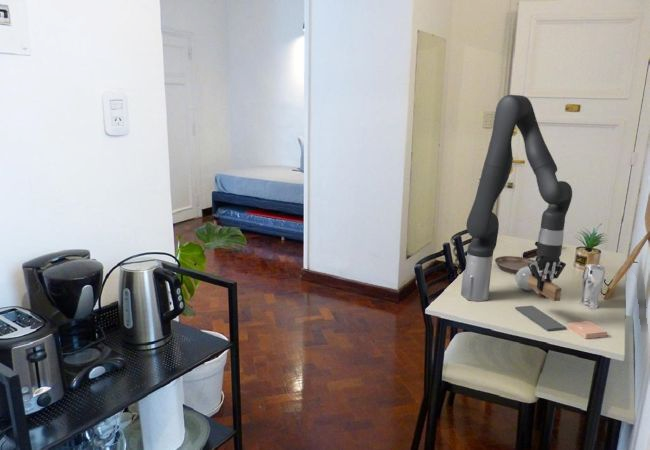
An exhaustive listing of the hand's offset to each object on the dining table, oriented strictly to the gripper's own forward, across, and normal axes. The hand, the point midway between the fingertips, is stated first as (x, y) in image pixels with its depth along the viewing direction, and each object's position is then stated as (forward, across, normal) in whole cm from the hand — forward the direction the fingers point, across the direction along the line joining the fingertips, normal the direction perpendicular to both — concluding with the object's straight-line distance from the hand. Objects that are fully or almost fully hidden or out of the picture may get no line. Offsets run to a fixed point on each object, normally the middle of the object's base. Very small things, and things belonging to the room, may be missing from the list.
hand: (543, 289), depth 170 cm
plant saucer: (+11, +24, +48) cm, 55 cm away
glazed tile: (+10, +9, -8) cm, 16 cm away
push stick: (+1, 0, 0) cm, 1 cm away
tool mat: (+11, 0, 0) cm, 11 cm away
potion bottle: (+11, +13, +23) cm, 28 cm away
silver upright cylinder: (+11, +26, +7) cm, 29 cm away
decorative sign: (+11, +49, +67) cm, 84 cm away
